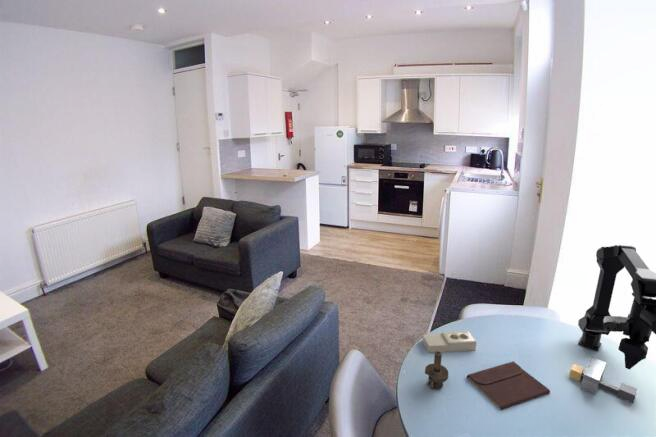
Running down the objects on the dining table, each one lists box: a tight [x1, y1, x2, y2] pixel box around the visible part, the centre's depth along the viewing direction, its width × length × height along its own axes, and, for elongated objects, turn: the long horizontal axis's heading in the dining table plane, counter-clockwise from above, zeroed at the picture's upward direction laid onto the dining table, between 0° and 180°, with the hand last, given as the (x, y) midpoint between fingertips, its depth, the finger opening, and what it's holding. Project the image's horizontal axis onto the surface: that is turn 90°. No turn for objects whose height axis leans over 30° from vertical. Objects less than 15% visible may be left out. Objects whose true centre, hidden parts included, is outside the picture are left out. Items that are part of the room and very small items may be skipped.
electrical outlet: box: [422, 330, 477, 353], centre depth 141 cm, size 7×4×18 cm
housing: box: [580, 356, 607, 396], centre depth 121 cm, size 12×4×6 cm, turn 136°
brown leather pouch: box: [466, 361, 551, 411], centre depth 121 cm, size 15×20×2 cm
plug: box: [568, 363, 638, 404], centre depth 120 cm, size 4×17×3 cm, turn 46°
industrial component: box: [424, 351, 449, 390], centre depth 119 cm, size 9×7×12 cm
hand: (629, 361), depth 115 cm, fingers open, 9 cm apart
